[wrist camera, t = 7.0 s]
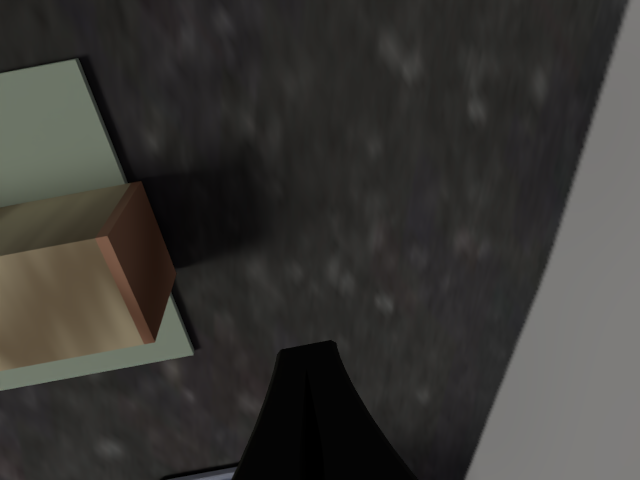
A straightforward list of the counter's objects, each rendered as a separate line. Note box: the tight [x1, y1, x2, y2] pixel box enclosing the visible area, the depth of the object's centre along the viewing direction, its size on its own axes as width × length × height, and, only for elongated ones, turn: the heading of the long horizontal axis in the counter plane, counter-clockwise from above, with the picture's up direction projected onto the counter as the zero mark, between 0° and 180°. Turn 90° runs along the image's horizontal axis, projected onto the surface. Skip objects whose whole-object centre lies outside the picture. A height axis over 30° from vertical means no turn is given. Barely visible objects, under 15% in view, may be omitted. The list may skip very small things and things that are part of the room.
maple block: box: [0, 181, 176, 371], centre depth 18 cm, size 4×4×10 cm
